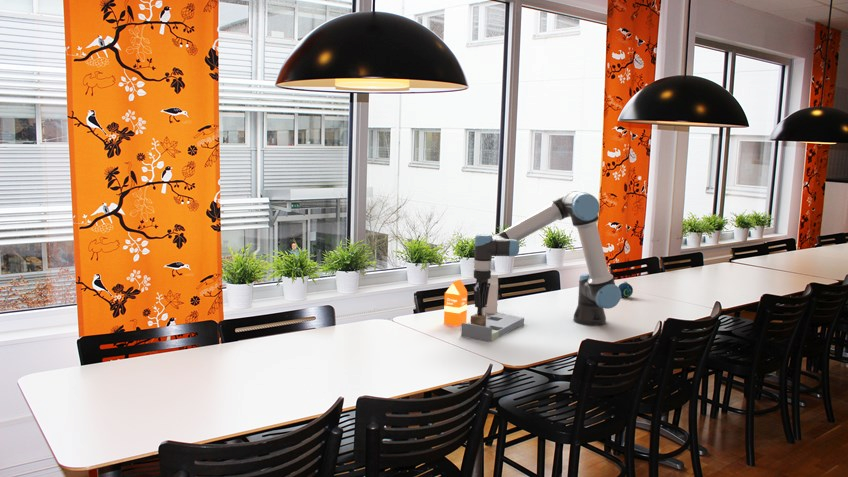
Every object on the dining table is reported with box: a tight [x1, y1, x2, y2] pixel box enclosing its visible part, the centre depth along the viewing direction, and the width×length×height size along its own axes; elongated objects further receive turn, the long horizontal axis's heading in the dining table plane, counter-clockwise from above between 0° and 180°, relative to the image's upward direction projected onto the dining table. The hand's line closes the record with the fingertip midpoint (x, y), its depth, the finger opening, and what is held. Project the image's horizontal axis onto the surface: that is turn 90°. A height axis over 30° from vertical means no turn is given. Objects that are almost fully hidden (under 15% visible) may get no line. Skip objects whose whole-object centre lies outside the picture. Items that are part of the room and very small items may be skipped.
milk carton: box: [484, 274, 499, 315], centre depth 330 cm, size 7×7×19 cm
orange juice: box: [443, 279, 468, 327], centre depth 308 cm, size 8×9×20 cm
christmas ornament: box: [617, 280, 634, 299], centre depth 372 cm, size 8×8×10 cm
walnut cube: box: [470, 313, 487, 327], centre depth 292 cm, size 5×5×5 cm
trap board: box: [460, 312, 525, 343], centre depth 298 cm, size 14×36×6 cm, turn 149°
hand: (480, 321), depth 295 cm, fingers closed
